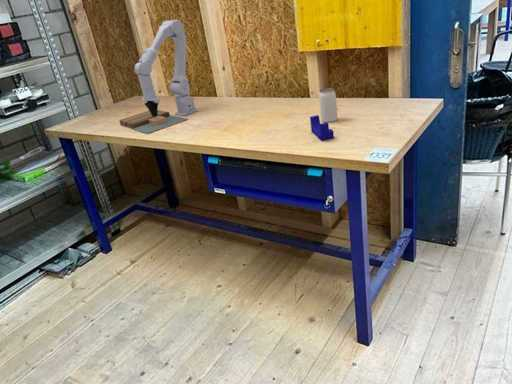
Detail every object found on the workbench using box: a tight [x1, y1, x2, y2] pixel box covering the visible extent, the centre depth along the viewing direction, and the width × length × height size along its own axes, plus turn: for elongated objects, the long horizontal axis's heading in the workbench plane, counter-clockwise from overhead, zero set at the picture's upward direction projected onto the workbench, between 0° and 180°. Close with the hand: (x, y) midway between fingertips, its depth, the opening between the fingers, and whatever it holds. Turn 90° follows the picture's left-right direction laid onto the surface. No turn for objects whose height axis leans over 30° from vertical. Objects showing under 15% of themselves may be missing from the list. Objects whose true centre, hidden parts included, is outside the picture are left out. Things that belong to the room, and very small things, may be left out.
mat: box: [132, 115, 189, 135], centre depth 203 cm, size 16×22×1 cm
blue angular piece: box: [309, 114, 335, 142], centre depth 151 cm, size 12×4×6 cm, turn 10°
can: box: [318, 87, 338, 124], centre depth 164 cm, size 6×6×12 cm
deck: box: [119, 109, 171, 130], centre depth 214 cm, size 16×20×2 cm
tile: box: [148, 116, 167, 125], centre depth 205 cm, size 7×6×2 cm
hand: (155, 116), depth 206 cm, fingers closed
